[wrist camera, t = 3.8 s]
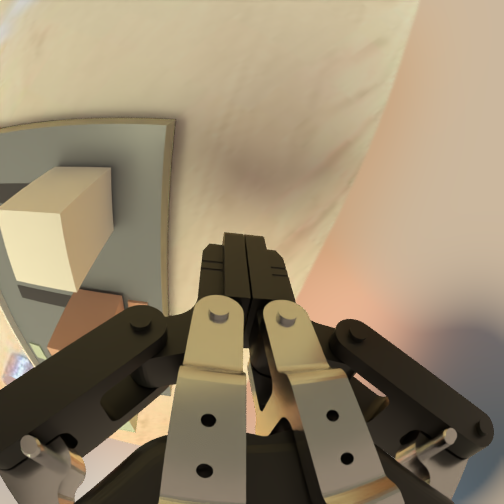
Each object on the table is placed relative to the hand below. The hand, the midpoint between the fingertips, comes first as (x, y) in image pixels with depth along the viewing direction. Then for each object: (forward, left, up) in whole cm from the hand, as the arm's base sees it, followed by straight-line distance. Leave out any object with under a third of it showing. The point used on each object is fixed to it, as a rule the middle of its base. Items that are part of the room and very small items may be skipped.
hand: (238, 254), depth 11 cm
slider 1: (0, -8, -4) cm, 9 cm away
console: (+8, -12, -7) cm, 16 cm away
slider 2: (+8, -8, -4) cm, 13 cm away
